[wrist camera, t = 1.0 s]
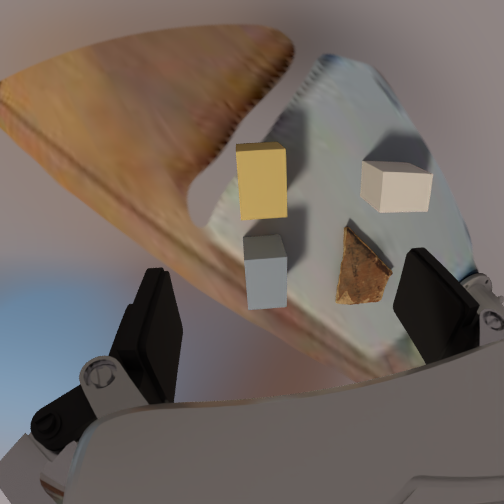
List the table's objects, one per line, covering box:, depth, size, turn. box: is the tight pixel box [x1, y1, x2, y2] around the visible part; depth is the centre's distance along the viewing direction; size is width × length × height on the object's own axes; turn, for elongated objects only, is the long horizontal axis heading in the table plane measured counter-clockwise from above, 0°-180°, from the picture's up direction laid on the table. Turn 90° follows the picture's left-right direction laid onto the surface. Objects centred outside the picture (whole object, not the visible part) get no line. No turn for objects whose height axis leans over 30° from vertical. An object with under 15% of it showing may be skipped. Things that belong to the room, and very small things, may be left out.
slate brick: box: [243, 235, 287, 310], centre depth 31 cm, size 6×4×5 cm, turn 3°
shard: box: [336, 227, 393, 305], centre depth 33 cm, size 11×8×2 cm
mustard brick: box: [236, 142, 287, 220], centre depth 26 cm, size 6×4×5 cm, turn 3°
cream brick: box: [360, 161, 433, 213], centre depth 27 cm, size 6×4×5 cm, turn 93°
